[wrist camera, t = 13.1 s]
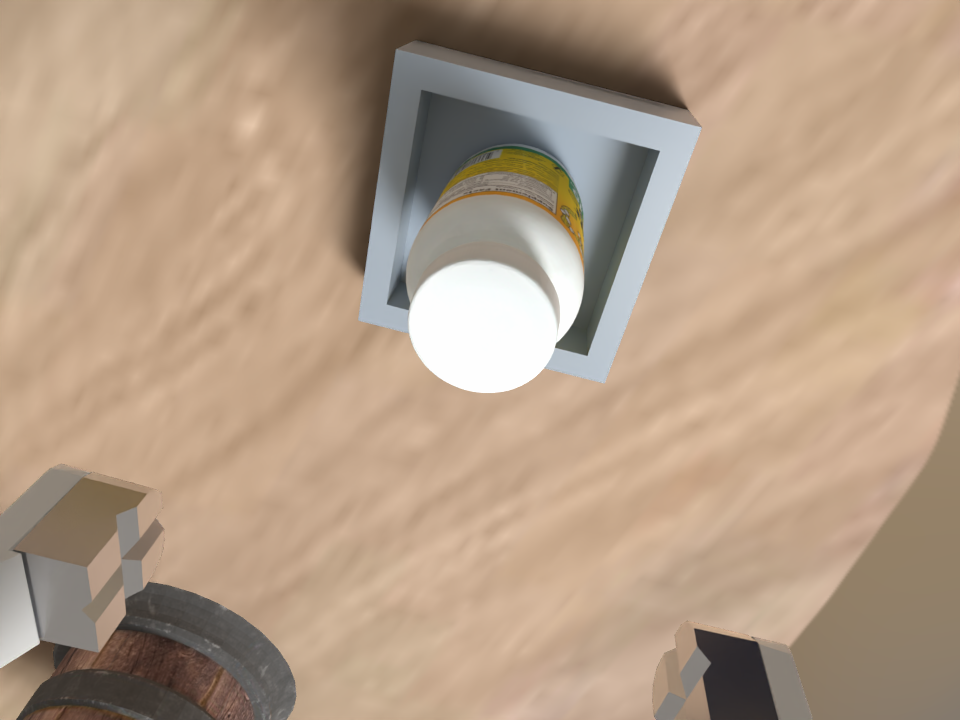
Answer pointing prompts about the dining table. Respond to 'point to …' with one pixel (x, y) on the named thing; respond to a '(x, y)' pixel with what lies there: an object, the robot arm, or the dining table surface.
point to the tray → (549, 127)
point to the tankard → (169, 667)
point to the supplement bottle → (497, 269)
